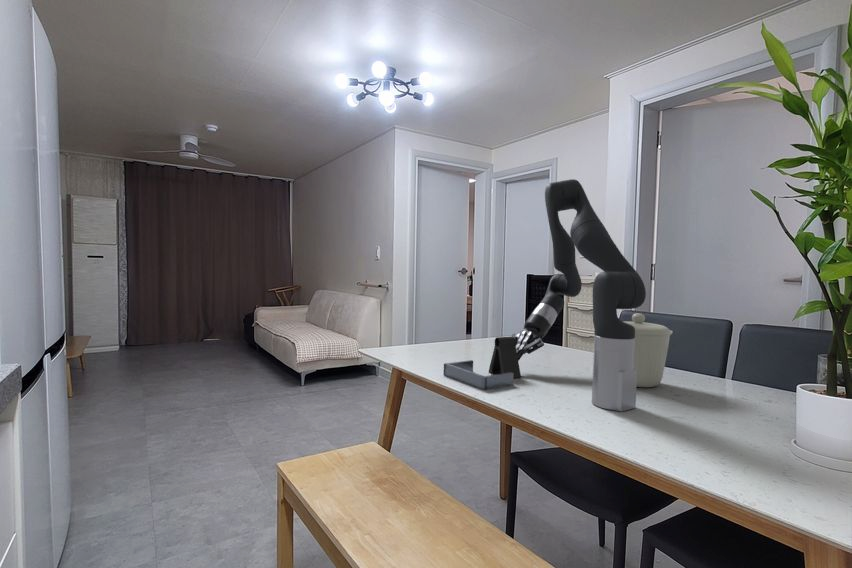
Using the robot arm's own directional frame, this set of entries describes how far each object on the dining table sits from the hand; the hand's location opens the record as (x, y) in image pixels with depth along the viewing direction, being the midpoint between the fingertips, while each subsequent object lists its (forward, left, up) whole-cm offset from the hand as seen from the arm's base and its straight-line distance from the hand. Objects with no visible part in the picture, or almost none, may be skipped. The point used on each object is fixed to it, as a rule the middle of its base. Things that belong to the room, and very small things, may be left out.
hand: (513, 360), depth 137 cm
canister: (-26, -25, -4) cm, 36 cm away
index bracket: (0, +15, -4) cm, 15 cm away
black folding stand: (0, +4, -4) cm, 6 cm away
